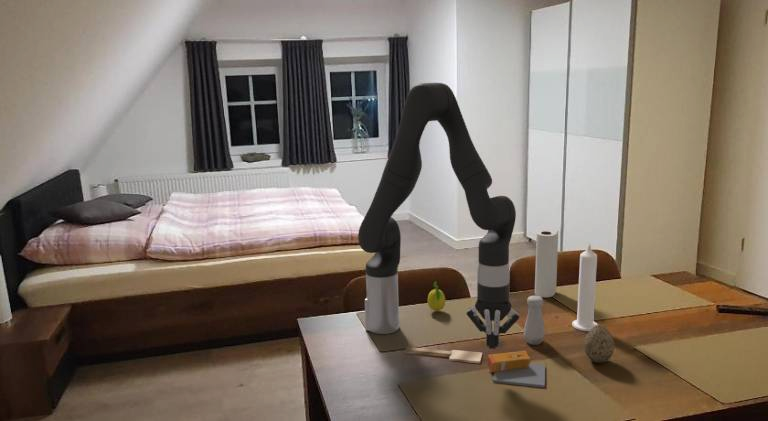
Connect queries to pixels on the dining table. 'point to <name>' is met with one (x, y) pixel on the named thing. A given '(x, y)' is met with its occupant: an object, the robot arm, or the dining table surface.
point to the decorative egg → (599, 344)
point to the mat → (523, 376)
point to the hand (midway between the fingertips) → (492, 347)
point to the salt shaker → (534, 321)
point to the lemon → (436, 299)
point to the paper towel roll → (546, 263)
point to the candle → (586, 291)
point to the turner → (449, 354)
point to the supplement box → (508, 361)
